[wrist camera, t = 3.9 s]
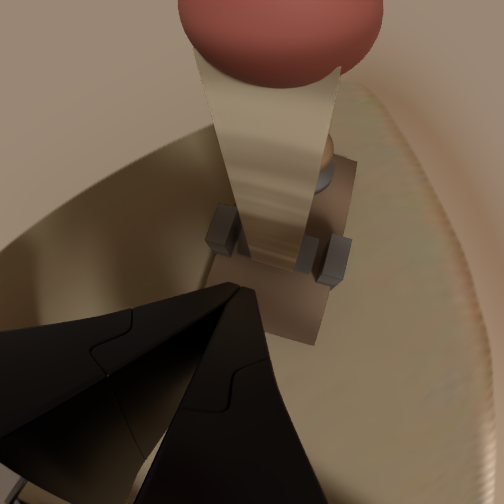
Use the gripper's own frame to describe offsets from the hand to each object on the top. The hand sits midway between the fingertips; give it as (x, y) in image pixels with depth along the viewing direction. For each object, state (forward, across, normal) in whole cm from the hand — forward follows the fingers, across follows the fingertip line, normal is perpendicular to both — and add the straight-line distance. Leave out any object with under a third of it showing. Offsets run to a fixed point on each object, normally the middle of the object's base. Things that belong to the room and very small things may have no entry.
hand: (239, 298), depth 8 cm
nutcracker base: (+12, 0, -3) cm, 12 cm away
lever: (+10, 0, -4) cm, 10 cm away
